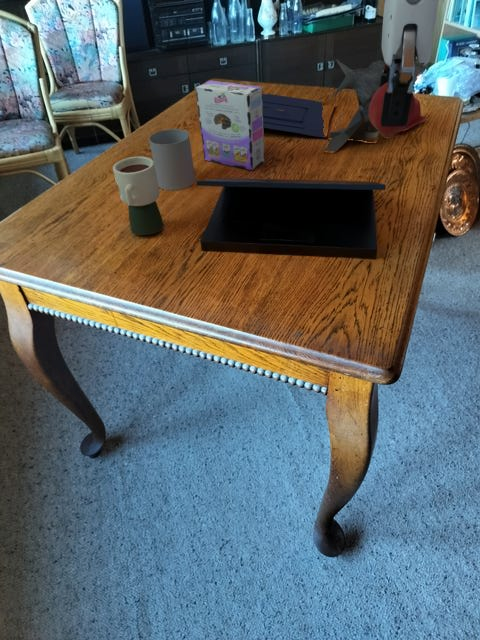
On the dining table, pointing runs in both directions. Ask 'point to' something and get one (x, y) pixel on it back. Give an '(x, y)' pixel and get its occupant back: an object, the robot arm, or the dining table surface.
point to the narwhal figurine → (365, 89)
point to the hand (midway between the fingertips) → (391, 114)
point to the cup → (172, 159)
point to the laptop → (293, 222)
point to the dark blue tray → (292, 115)
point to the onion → (376, 113)
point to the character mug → (139, 193)
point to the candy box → (231, 123)
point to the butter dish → (415, 116)
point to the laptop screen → (293, 184)
